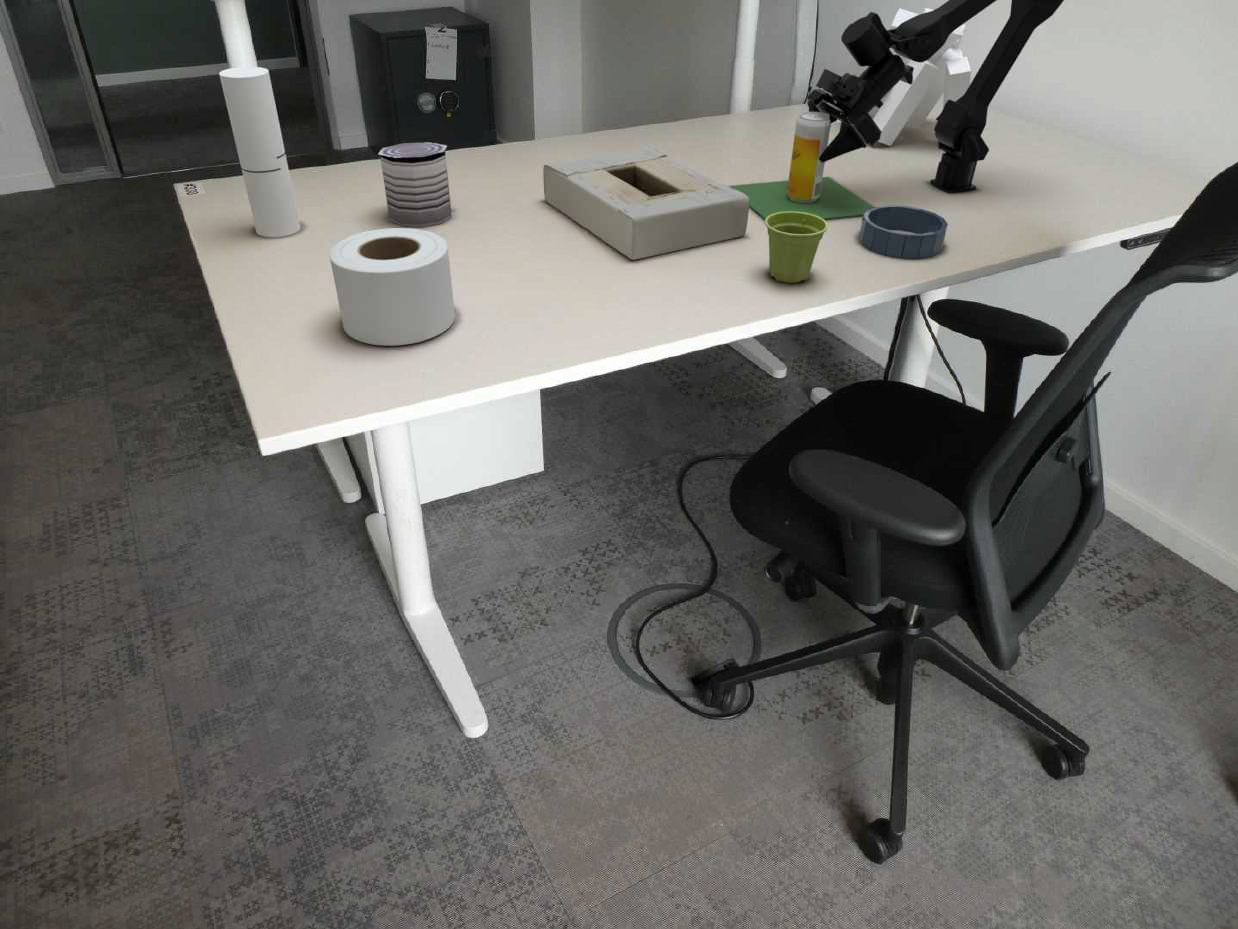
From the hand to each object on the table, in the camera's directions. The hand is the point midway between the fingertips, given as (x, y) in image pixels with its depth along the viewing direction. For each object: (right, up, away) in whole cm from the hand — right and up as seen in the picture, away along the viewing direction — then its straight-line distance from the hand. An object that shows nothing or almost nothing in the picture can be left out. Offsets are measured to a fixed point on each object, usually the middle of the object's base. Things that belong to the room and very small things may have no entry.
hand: (808, 152), depth 160 cm
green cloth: (0, -7, +5) cm, 9 cm away
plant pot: (-8, -27, -22) cm, 36 cm away
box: (-31, -13, -3) cm, 33 cm away
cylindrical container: (-93, -17, -10) cm, 95 cm away
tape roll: (-65, -37, -36) cm, 83 cm away
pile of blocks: (+29, +20, +43) cm, 56 cm away
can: (-70, -13, -4) cm, 71 cm away
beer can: (0, -7, +5) cm, 9 cm away
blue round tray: (+13, -19, -10) cm, 25 cm away
